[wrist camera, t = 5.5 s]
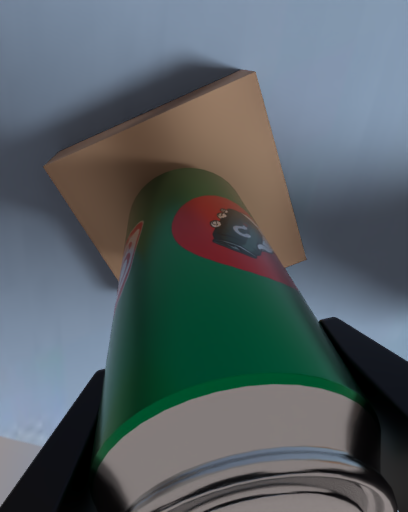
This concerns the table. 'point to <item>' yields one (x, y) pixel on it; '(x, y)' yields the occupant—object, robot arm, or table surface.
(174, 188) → the soda can
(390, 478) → the robot arm
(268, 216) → the tan block
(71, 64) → the table surface
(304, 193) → the table surface
